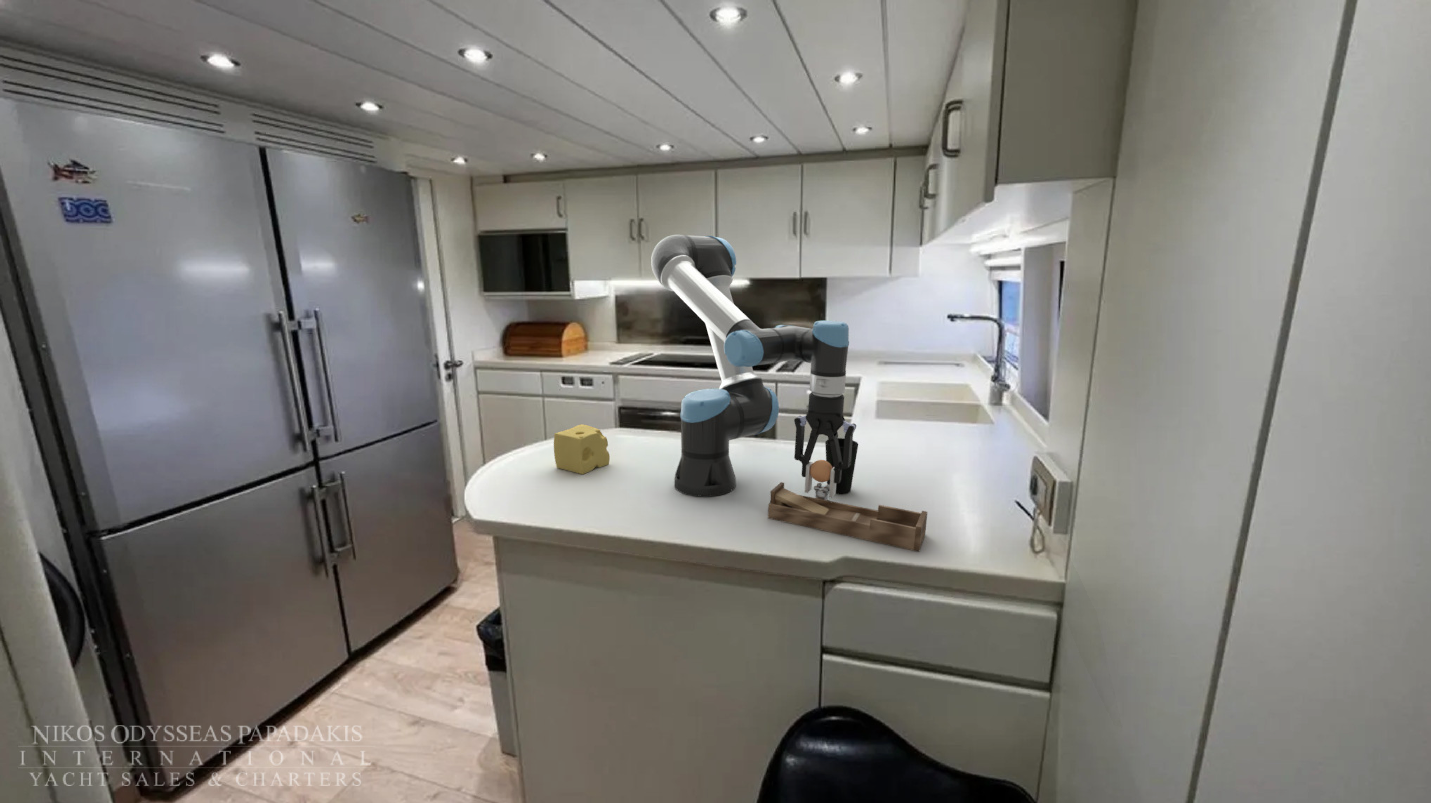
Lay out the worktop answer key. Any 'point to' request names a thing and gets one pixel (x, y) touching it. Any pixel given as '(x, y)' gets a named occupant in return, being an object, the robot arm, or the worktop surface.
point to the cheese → (580, 449)
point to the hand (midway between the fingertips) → (820, 492)
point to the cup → (847, 474)
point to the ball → (821, 470)
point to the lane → (850, 519)
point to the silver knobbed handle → (821, 491)
